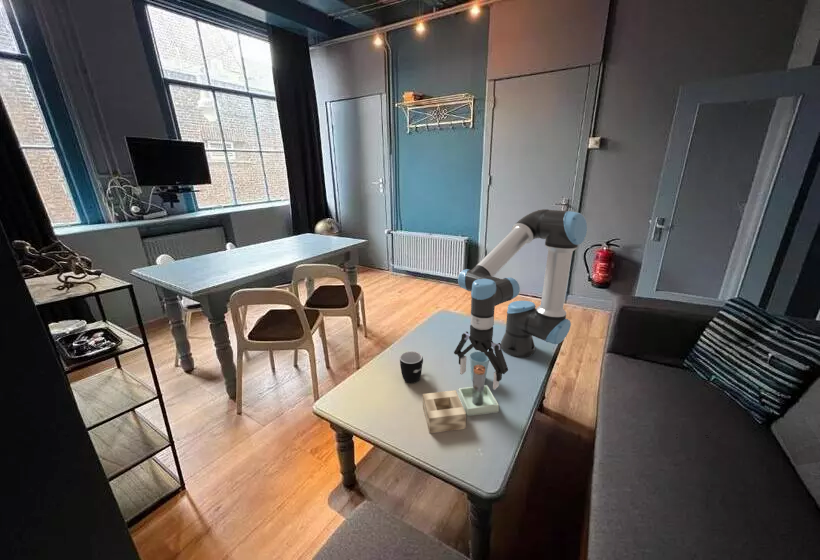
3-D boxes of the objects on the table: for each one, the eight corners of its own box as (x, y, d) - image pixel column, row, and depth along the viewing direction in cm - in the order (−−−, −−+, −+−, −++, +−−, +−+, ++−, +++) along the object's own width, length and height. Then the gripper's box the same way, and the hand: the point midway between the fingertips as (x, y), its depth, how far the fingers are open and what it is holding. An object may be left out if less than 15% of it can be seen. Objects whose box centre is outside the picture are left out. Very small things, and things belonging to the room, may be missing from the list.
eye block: (455, 404, 118) (455, 390, 116) (465, 428, 107) (465, 413, 105) (422, 407, 117) (422, 393, 115) (429, 433, 105) (429, 418, 103)
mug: (413, 388, 127) (413, 366, 124) (396, 380, 132) (395, 358, 129) (431, 373, 136) (431, 352, 133) (414, 366, 141) (413, 345, 138)
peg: (470, 398, 120) (472, 365, 115) (481, 397, 120) (482, 364, 115) (474, 406, 116) (475, 371, 111) (484, 405, 116) (487, 370, 112)
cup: (467, 373, 135) (468, 351, 132) (485, 373, 135) (487, 351, 132) (470, 384, 128) (471, 362, 125) (489, 384, 128) (491, 361, 125)
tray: (486, 391, 124) (487, 385, 123) (498, 412, 114) (498, 405, 113) (458, 395, 123) (458, 388, 122) (467, 416, 112) (467, 408, 111)
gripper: (444, 318, 113) (444, 371, 120) (511, 341, 97) (506, 400, 104) (457, 311, 118) (455, 362, 125) (522, 332, 103) (516, 389, 110)
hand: (478, 379), depth 115 cm, fingers open, 12 cm apart
